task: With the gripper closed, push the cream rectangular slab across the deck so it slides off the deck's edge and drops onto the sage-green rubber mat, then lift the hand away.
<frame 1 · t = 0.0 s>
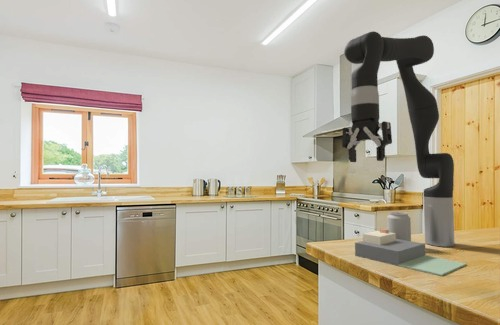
hand: (366, 161, 87), 29 cm above the counter, tool pointing down, fingers open, 8 cm apart
cream rectangular slab: (379, 241, 99), point 4 cm above the counter, touching deck
can: (399, 247, 109), on the counter
mat: (432, 265, 86), on the counter
deck: (389, 256, 96), on the counter
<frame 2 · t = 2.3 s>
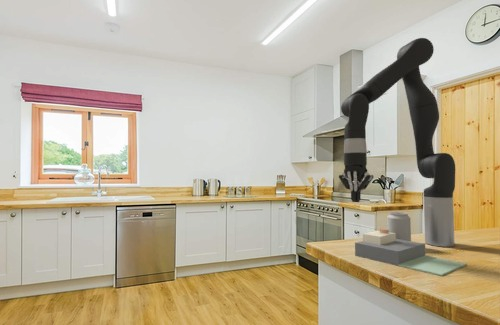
hand: (355, 202, 106), 16 cm above the counter, tool pointing down, fingers closed
nothing on the counter moved.
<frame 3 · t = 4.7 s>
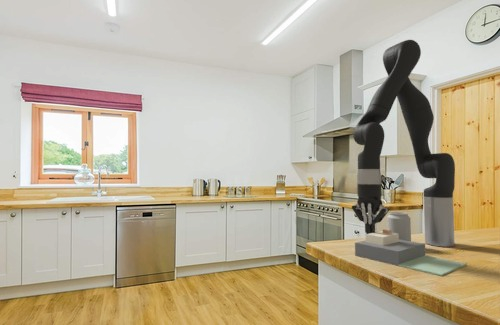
hand: (370, 235, 102), 6 cm above the counter, tool pointing down, fingers closed
cream rectangular slab: (382, 241, 98), point 4 cm above the counter, touching gripper
everything else where it was.
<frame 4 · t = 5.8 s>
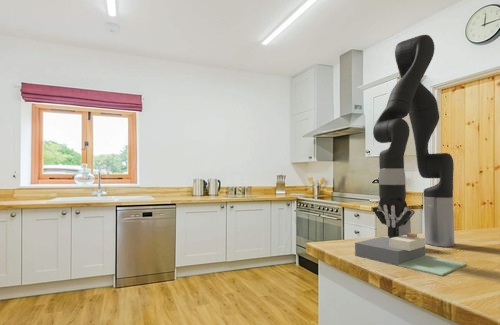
hand: (393, 239, 95), 6 cm above the counter, tool pointing down, fingers closed
cream rectangular slab: (407, 246, 91), point 4 cm above the counter, touching deck
everything else where it was.
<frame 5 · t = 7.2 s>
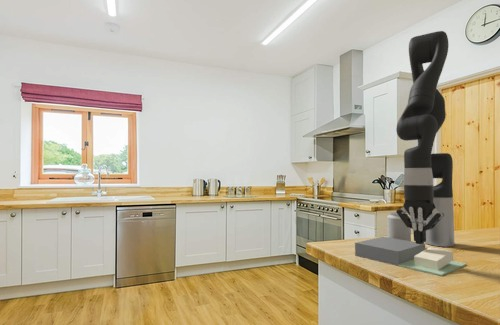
hand: (419, 243, 89), 6 cm above the counter, tool pointing down, fingers closed
cream rectangular slab: (433, 253, 85), point 4 cm above the counter, tilted 171°, touching mat
everything else where it was.
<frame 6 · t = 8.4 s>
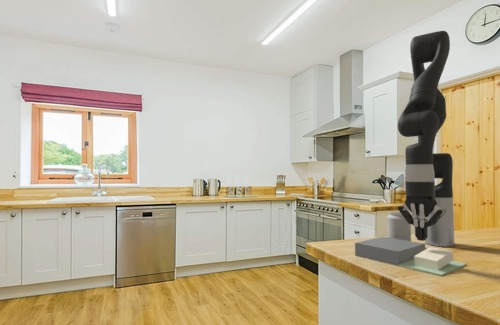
hand: (421, 240, 89), 7 cm above the counter, tool pointing down, fingers closed
nothing on the counter moved.
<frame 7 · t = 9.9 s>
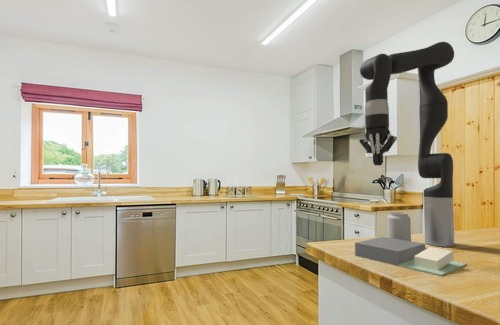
hand: (377, 165, 104), 29 cm above the counter, tool pointing down, fingers closed
nothing on the counter moved.
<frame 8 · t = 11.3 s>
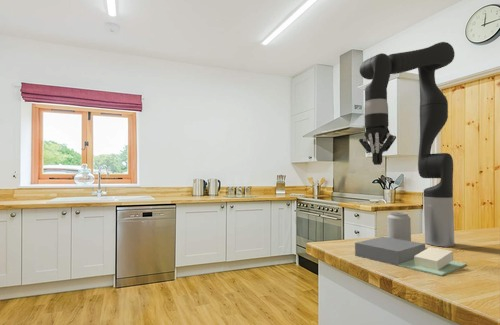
hand: (377, 164, 105), 29 cm above the counter, tool pointing down, fingers closed
nothing on the counter moved.
at the end: cream rectangular slab inside the target area on the mat (1.2 cm from its centre), point 3.6 cm above the mat's base; cream rectangular slab touching mat; cream rectangular slab point 3.6 cm above the counter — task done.
